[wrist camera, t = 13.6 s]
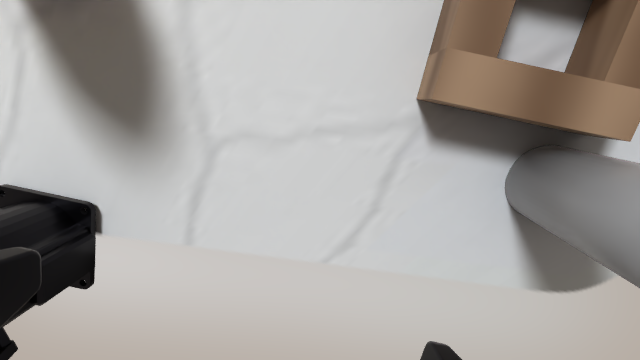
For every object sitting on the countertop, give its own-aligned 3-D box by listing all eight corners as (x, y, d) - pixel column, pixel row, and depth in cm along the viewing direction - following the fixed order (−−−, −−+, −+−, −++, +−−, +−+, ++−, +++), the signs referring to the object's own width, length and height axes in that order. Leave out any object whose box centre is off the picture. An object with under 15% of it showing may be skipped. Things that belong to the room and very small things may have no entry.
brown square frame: (416, 99, 18) (431, 98, 15) (472, -103, 16) (503, -149, 13) (583, 134, 18) (630, 141, 15) (666, -61, 16) (741, -97, 13)
